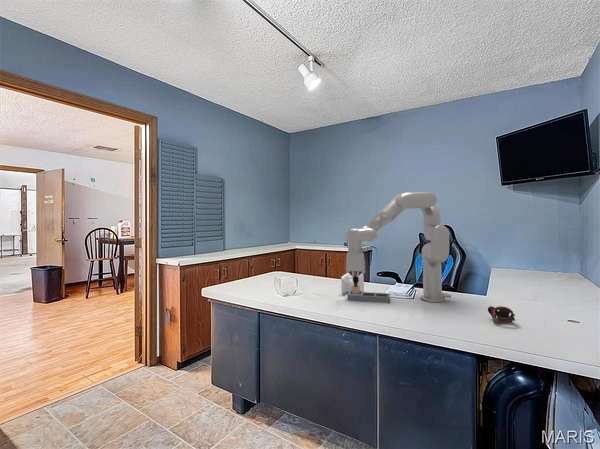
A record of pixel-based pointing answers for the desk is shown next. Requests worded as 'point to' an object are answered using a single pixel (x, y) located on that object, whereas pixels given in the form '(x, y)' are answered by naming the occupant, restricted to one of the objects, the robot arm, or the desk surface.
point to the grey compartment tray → (369, 297)
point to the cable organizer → (351, 283)
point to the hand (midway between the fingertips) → (355, 283)
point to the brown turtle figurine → (501, 314)
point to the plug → (355, 289)
